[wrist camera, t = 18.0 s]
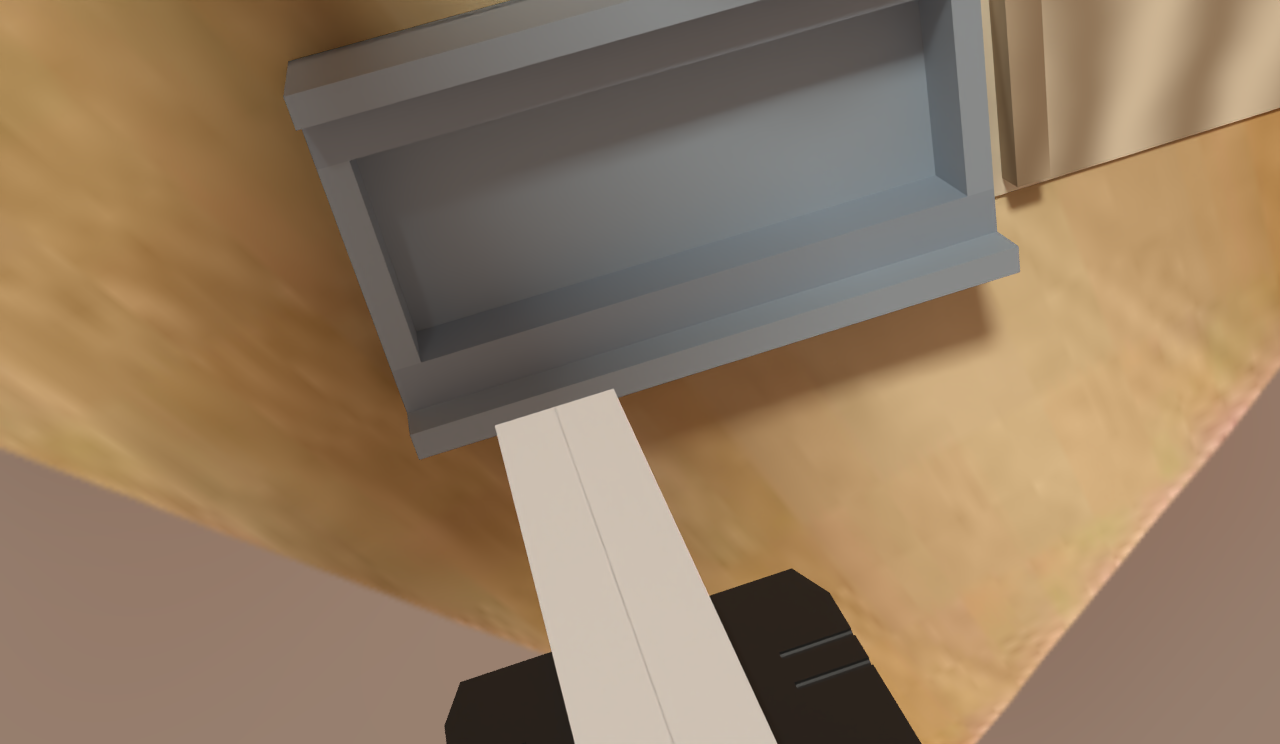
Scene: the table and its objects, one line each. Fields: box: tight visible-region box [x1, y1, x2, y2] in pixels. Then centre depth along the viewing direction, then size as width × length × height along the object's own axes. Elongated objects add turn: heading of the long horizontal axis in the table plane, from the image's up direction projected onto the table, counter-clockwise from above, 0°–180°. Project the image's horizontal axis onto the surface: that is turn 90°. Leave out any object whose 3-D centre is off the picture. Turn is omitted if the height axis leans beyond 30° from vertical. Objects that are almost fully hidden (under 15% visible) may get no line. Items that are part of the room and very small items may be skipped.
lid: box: [981, 0, 1280, 197], centre depth 52 cm, size 25×12×2 cm, turn 103°
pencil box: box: [283, 0, 1020, 460], centre depth 47 cm, size 26×15×6 cm, turn 103°
